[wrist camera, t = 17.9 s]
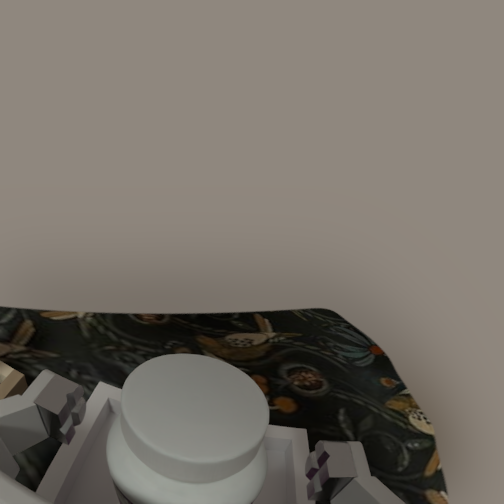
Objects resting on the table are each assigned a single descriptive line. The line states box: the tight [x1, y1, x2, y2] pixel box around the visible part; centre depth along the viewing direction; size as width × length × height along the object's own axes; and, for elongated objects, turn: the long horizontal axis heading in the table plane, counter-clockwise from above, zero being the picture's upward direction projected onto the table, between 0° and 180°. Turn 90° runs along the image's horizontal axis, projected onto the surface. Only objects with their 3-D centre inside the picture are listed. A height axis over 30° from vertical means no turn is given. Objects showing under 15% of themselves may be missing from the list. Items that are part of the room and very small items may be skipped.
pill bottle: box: [106, 354, 269, 504], centre depth 9 cm, size 5×5×10 cm
